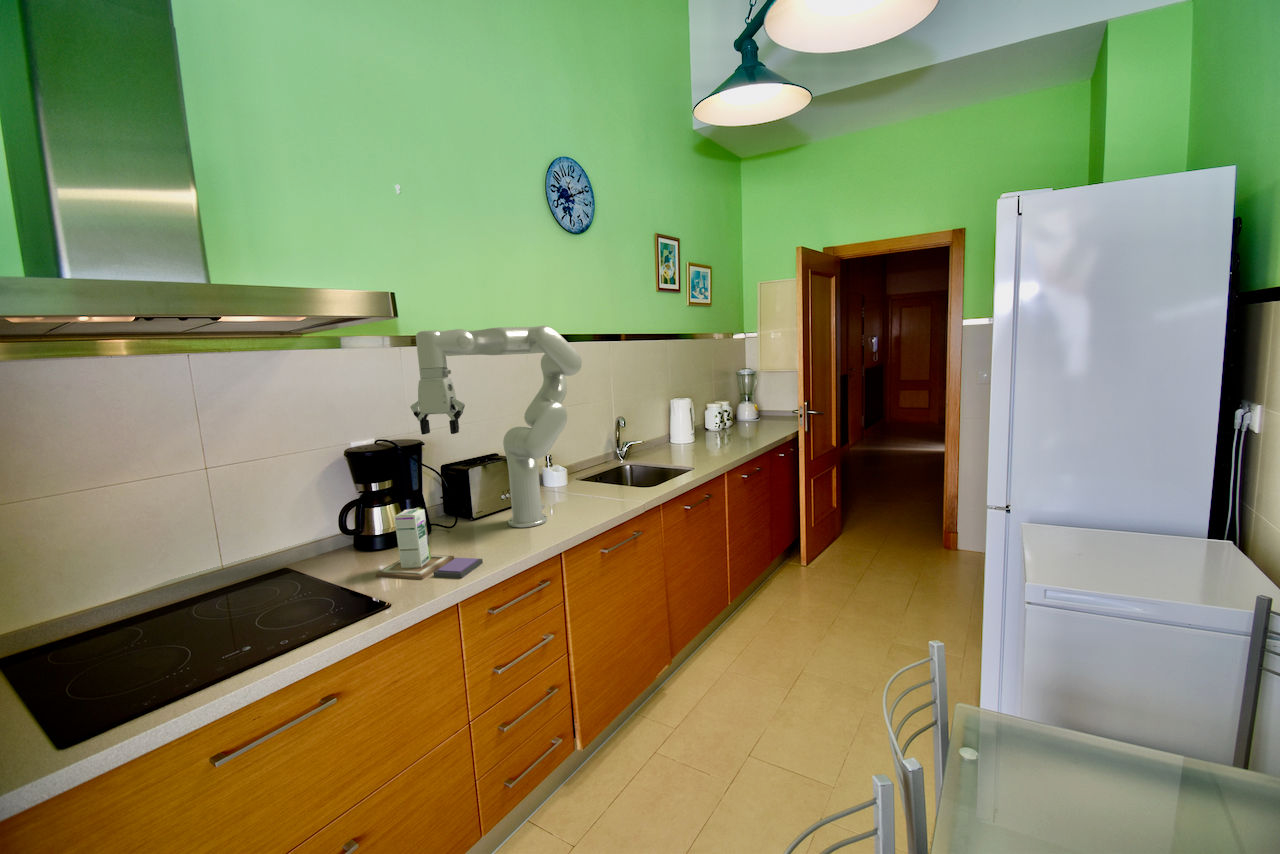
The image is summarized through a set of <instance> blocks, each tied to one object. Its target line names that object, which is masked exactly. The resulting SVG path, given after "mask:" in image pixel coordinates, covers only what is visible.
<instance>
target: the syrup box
mask: <svg viewBox="0 0 1280 854" xmlns="http://www.w3.org/2000/svg"><path fill="white" fill-rule="evenodd" d="M425 511H426V510H425V509H424V508H409V509H404V510H403V511H401V512H399V513H398V514H396V515H394V518H393V519H394V524H395V533H396V538H397V539H396V541H397V548H398V553H399V554H398V555H399V560H400V562H401V568H421V567H423V565H424V564H426V563H427V562H428V561H429V560H430V559H431V556H430V555H431V550H430V542H429V536H428V527H427V519H426V512H425Z"/></svg>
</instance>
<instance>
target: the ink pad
mask: <svg viewBox="0 0 1280 854" xmlns="http://www.w3.org/2000/svg"><path fill="white" fill-rule="evenodd" d="M482 564H483V558H472V557H471V558H469V557H454V559H453V560H451V561H450V562H448V563H447V564H445V565H444V566H442V567H441V568H439V569H438V570H436V571H434V572H433V577H434V578H449V579H463V578H464V577H466V576H467V575H468V574H470V573H471V572H472V571H474V570H476V569H477V568H479V567H480V566H481V565H482Z"/></svg>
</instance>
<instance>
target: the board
mask: <svg viewBox="0 0 1280 854" xmlns="http://www.w3.org/2000/svg"><path fill="white" fill-rule="evenodd" d="M430 556H431V559H430V560H429V561H428V562H427V563H426V564H424V565H423V567H421V568H401V562H400V559H398V560H397V561H395V562H393V563H391V564H389V565H388V566H385V567H384V568H382V569H381V570H378V571H377V572H375V574H374V575H375V577H377V578H393V579H394V578H395V579H396V578H397V579H409V580H411V579H412V580H424V579H425V578H427V577H429V576H431V574H434V571H436V570H438V569H439V568H441V567H442V566H444V565H445V564H447V563H448V562H450V561H451V560H453V559H455V556H454V555H445V554H443V555H441V554H430Z"/></svg>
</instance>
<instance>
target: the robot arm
mask: <svg viewBox="0 0 1280 854" xmlns="http://www.w3.org/2000/svg"><path fill="white" fill-rule="evenodd" d="M415 342H416V350H417V351H416V352H417V360H418V366H419V367H418V368H419V378H420V379H419V380H418V384H417V385H418V388H417V393H418V394H417V400H418V401H416V402H414V403H413V404H411V405H410V409H411V411H412V413H413V415H414V416H415V418H416V419H417V421H418V422H419V426H420V433H421V435H423V436H424V435H428V434H430V433H431V428H430V420H429V419H428V417H429V416H430V415H445V414H446V415H447V416H448V417H449V418H450V420H449V430H450V434H451V435H456V434H458V433H459V432H460V424H459V419H461V416H462V415H463V414H464V409H465V406H466V404H465V403H464V402H461V401H459V400H458V399H457V396H456V391H455V386H454V383H453V380H452V378H449V375H451V374H452V371H451V369H449V368H448V362H447V357H453V356H477V355H478V356H479V355H480V356H481V355H484V356H505V355H506V356H509V355H510V356H511V355H526V354H527V355H530V354H543V355H542V357H541V358H540V369H541V372H542V377H543V382H542V385H541V387H540V389H539V391H537V394H536V395H535V396H534V398H533V400H532V401H531V402H530V404H529V405H528V407H526V410H525V412H524V417H523V418H524V421H525V423H526V424H527V426H529V427H527V426H514V427H511V428H510V429H509V430H507V431H506V433H505V435H504V437H503V441H502V442H503V450H504V453H505V458H506V462H507V468H508V469H507V470H508V479H509V480H508V481H509V489H510V491H509V492H510V493H509V494H510V502H511V513H512V514H511V515H512V517H510V518H508V520H507V523H508V526H510V527H512V528H513V527H514V528H521V529H522V528H531V527H536V526H539V525H542V524H544V523H546V522H547V520H548V515H547V514H544V513H543V510H544V509H545V507H546V504H545V503H543V502H542V497H541V495H542V494H541V486H540V485H541V484H540V473H539V472H540V471H539V465H538V461H537V460H538V459H539V460H540V459H542V458H544V457H545V456H546V455H547V454H548V453H549V451H550V450H551V449H552V447H553V446H554V444H555V442H556V441H557V440H558V438H559V436H560V435H561V434H562V431H563V430H564V428H565V427H566V424H567V421H568V413H567V408H566V407H565V406H564V405H563V404H562V403H563V402H564V399H565V398H566V396H567V393H568V392H567V390H568V388H567V387H568V385H567V379H566V377H567V376H569V377H571V376H573V375H576V374H578V373H579V371H581V368H582V358H581V355H580V354H579V352H578V351H577V350H576V349H575V348H574V347H573V345H571V344H570V343H569V342H568V341H567V340H566V339H565V338H564V337H563V336H562V335H561V334H560V333H559V332H558V331H557V330H555V329H554V328H553V327H550V326H548V325H538V326H526V327H525V326H522V327H521V326H519V327H518V326H515V327H513V326H510V327H509V326H507V327H503V326H499V327H491V328H485V329H477V330H466V329H463V328H456V329H449V330H448V329H447V330H442V331H441V330H422V331H418V332H417V333H416V335H415Z"/></svg>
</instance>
